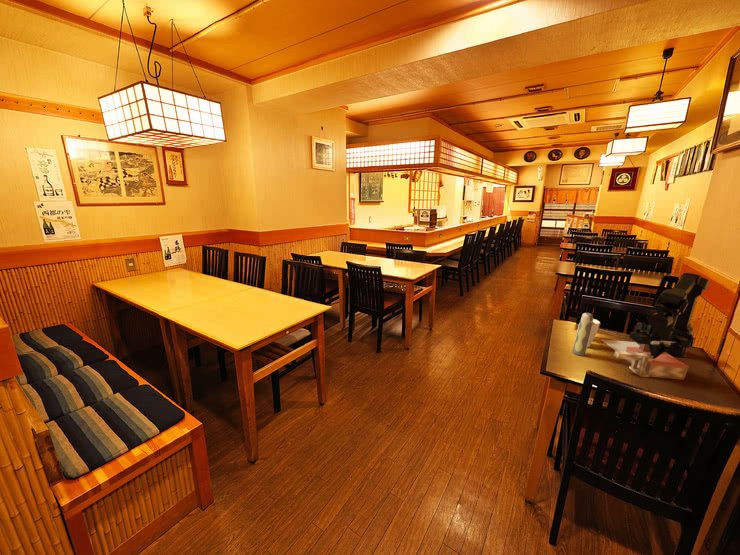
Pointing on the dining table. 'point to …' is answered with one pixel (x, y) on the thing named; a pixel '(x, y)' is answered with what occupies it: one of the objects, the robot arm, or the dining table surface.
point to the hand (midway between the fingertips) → (652, 358)
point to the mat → (620, 344)
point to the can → (590, 334)
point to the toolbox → (655, 369)
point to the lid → (659, 358)
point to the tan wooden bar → (632, 355)
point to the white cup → (595, 327)
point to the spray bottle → (583, 334)
